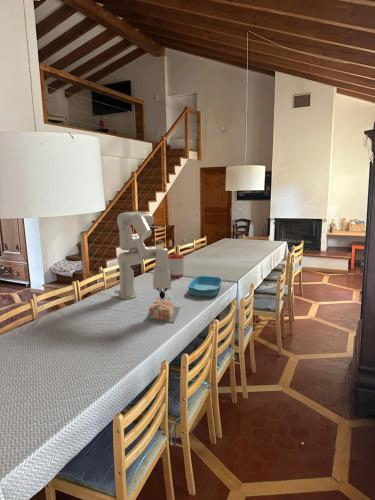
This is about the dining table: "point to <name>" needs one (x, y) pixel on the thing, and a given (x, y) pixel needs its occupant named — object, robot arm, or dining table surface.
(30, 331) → the dining table surface
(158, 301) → the stack of blocks
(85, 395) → the dining table surface
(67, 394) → the dining table surface
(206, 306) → the dining table surface
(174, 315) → the mat
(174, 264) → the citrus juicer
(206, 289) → the casserole dish
